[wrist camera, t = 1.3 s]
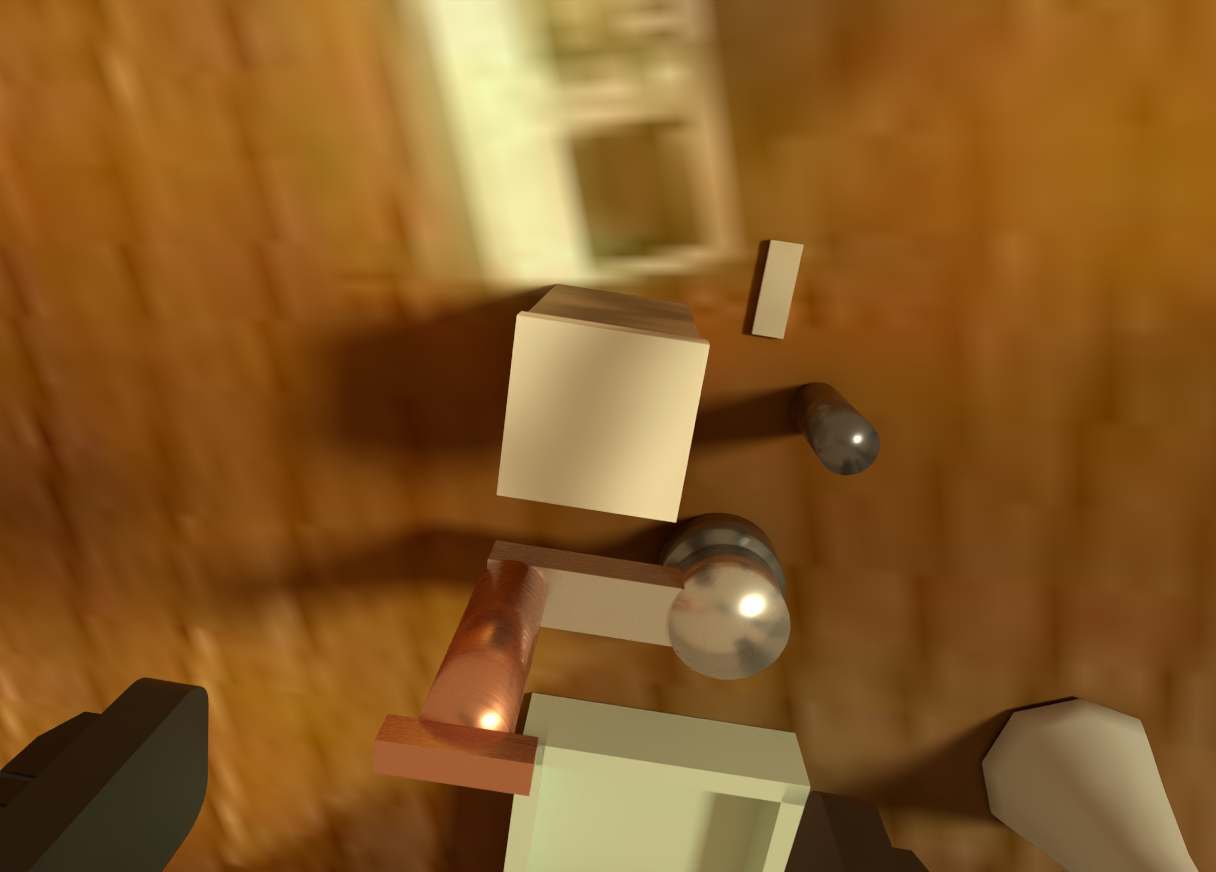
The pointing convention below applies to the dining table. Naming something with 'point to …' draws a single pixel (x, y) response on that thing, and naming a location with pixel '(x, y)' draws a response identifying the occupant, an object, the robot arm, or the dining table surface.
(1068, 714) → the flask
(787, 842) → the tray
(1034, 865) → the dining table surface
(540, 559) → the crank
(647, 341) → the block
